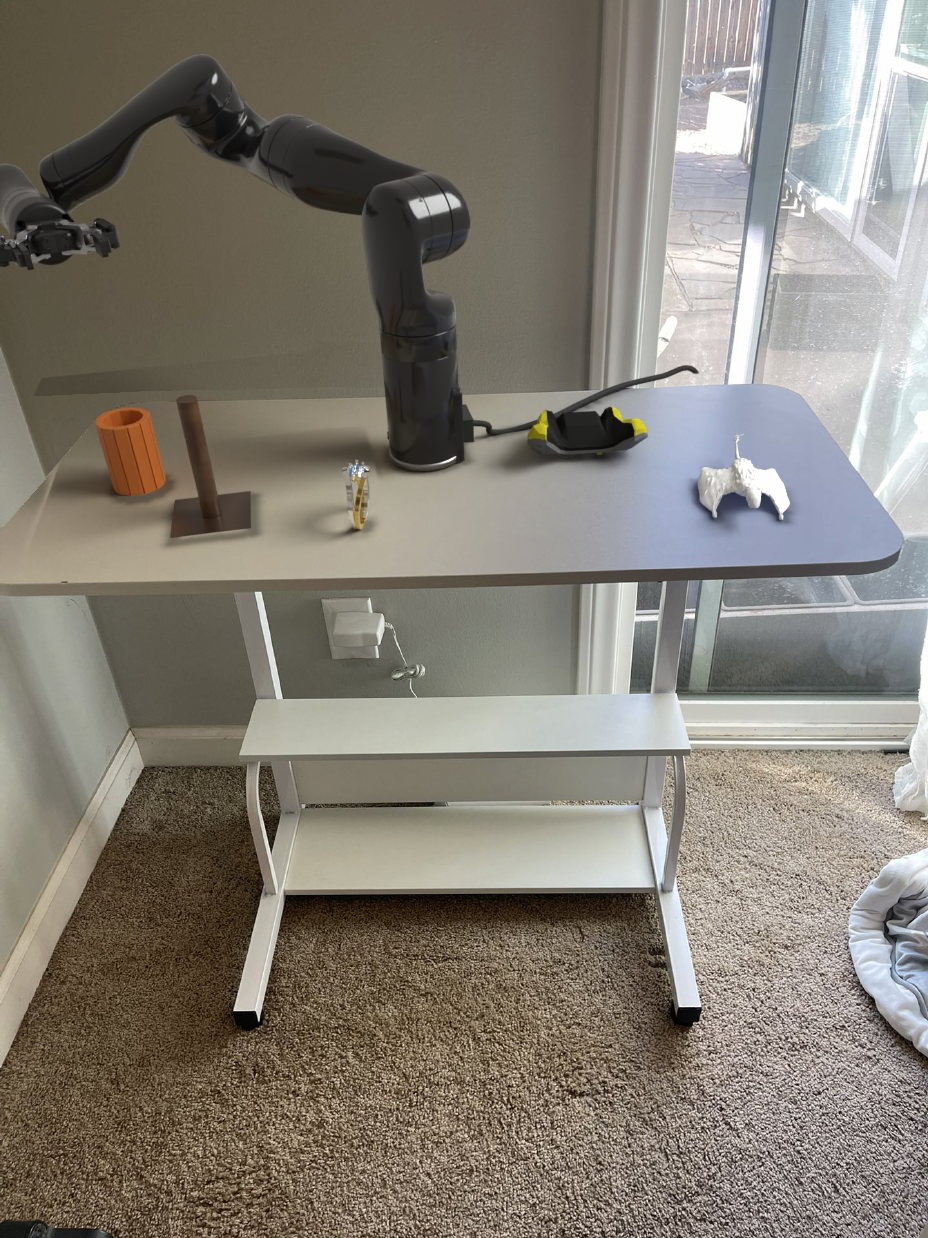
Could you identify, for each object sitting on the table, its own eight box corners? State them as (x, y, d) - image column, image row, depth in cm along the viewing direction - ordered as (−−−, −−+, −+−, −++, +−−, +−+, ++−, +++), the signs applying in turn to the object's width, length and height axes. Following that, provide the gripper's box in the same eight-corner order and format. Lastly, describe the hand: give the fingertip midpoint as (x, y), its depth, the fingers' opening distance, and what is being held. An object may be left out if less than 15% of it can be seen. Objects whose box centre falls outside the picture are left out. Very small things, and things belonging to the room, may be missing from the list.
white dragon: (690, 456, 117) (694, 426, 115) (772, 458, 116) (778, 428, 114) (704, 529, 103) (709, 496, 100) (798, 532, 102) (805, 499, 99)
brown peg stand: (251, 496, 112) (229, 379, 103) (252, 533, 105) (228, 410, 96) (176, 505, 111) (147, 387, 102) (171, 543, 104) (139, 420, 95)
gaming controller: (648, 466, 115) (632, 432, 123) (652, 425, 112) (635, 393, 120) (529, 472, 115) (520, 437, 123) (529, 431, 112) (521, 399, 120)
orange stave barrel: (168, 474, 118) (151, 404, 112) (165, 497, 113) (146, 425, 107) (118, 480, 117) (98, 410, 111) (113, 503, 112) (91, 431, 106)
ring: (368, 543, 103) (361, 479, 98) (340, 541, 103) (332, 477, 98) (382, 512, 108) (376, 450, 103) (356, 510, 109) (348, 449, 104)
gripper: (-29, 204, 113) (-9, 230, 102) (88, 187, 119) (120, 210, 108) (-9, 267, 118) (13, 298, 106) (103, 248, 123) (135, 276, 112)
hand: (67, 254), depth 107 cm, fingers open, 8 cm apart
